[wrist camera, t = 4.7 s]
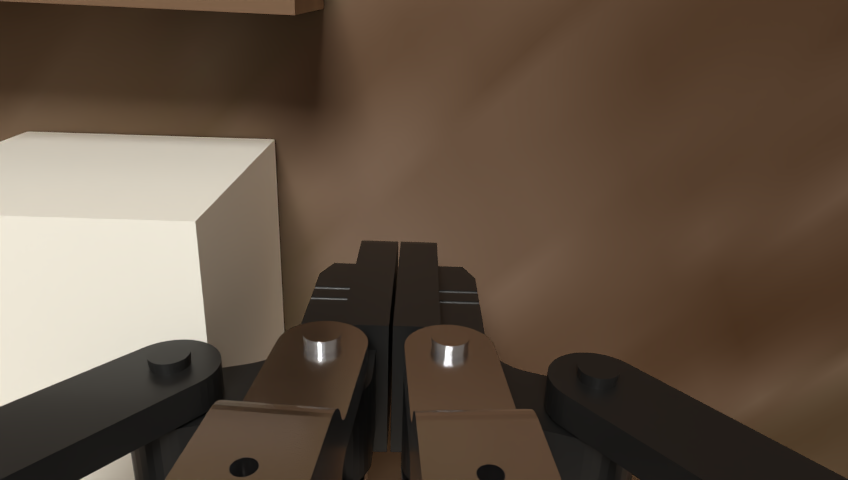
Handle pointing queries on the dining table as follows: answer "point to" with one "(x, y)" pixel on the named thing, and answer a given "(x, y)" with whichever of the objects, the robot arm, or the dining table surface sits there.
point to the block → (133, 253)
